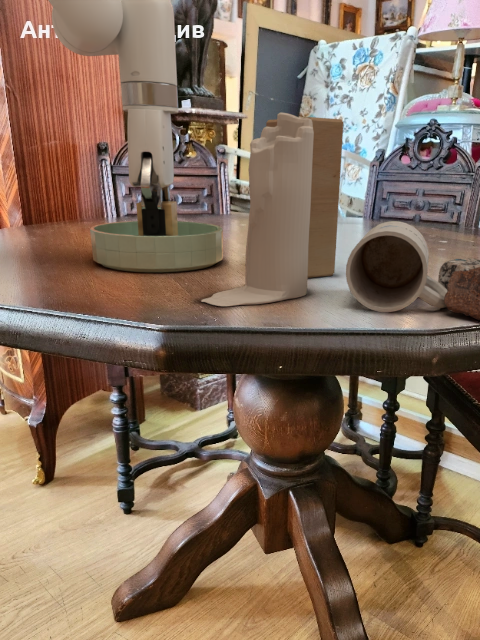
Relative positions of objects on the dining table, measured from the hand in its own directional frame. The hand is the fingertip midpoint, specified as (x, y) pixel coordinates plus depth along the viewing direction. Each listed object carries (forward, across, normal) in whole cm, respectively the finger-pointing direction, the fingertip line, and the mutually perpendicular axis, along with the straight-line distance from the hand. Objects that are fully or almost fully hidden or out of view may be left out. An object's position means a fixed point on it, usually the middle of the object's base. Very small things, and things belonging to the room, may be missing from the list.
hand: (158, 234), depth 84 cm
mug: (+1, +18, +33) cm, 38 cm away
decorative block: (+4, +5, +21) cm, 22 cm away
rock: (+4, +20, +47) cm, 51 cm away
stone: (+3, +27, +39) cm, 48 cm away
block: (0, 0, 0) cm, 0 cm away
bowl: (+4, 0, 0) cm, 4 cm away
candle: (+4, +22, +15) cm, 27 cm away
